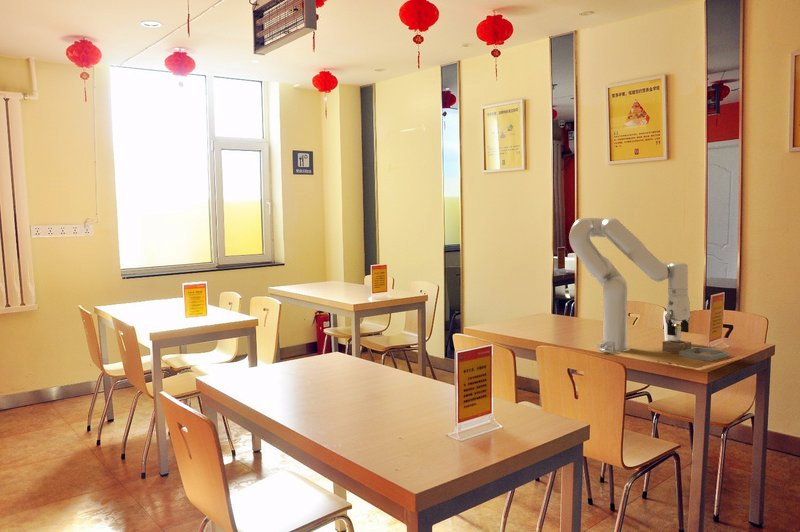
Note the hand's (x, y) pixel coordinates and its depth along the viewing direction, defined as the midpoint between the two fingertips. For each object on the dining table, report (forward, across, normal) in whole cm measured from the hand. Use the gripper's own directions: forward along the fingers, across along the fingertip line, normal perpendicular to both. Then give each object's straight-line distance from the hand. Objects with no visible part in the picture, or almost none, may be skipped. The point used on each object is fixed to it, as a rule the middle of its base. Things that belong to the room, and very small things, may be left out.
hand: (678, 333), depth 265 cm
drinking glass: (+9, +14, +11) cm, 20 cm away
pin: (+7, 0, 0) cm, 8 cm away
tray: (+9, 0, -11) cm, 14 cm away
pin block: (+8, 0, 0) cm, 9 cm away
